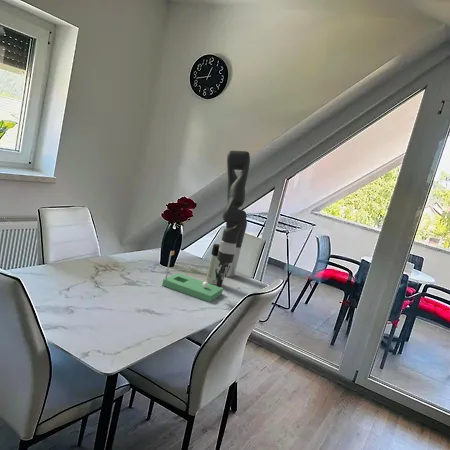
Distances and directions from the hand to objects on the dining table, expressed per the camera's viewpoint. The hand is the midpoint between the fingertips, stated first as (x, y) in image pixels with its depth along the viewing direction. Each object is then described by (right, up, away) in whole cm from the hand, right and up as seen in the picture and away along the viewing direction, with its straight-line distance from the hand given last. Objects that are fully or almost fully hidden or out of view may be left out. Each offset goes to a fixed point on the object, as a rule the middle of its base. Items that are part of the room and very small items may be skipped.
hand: (218, 286), depth 198 cm
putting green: (-13, -2, +6) cm, 14 cm away
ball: (-6, 0, +3) cm, 7 cm away
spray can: (-4, -1, +23) cm, 23 cm away
